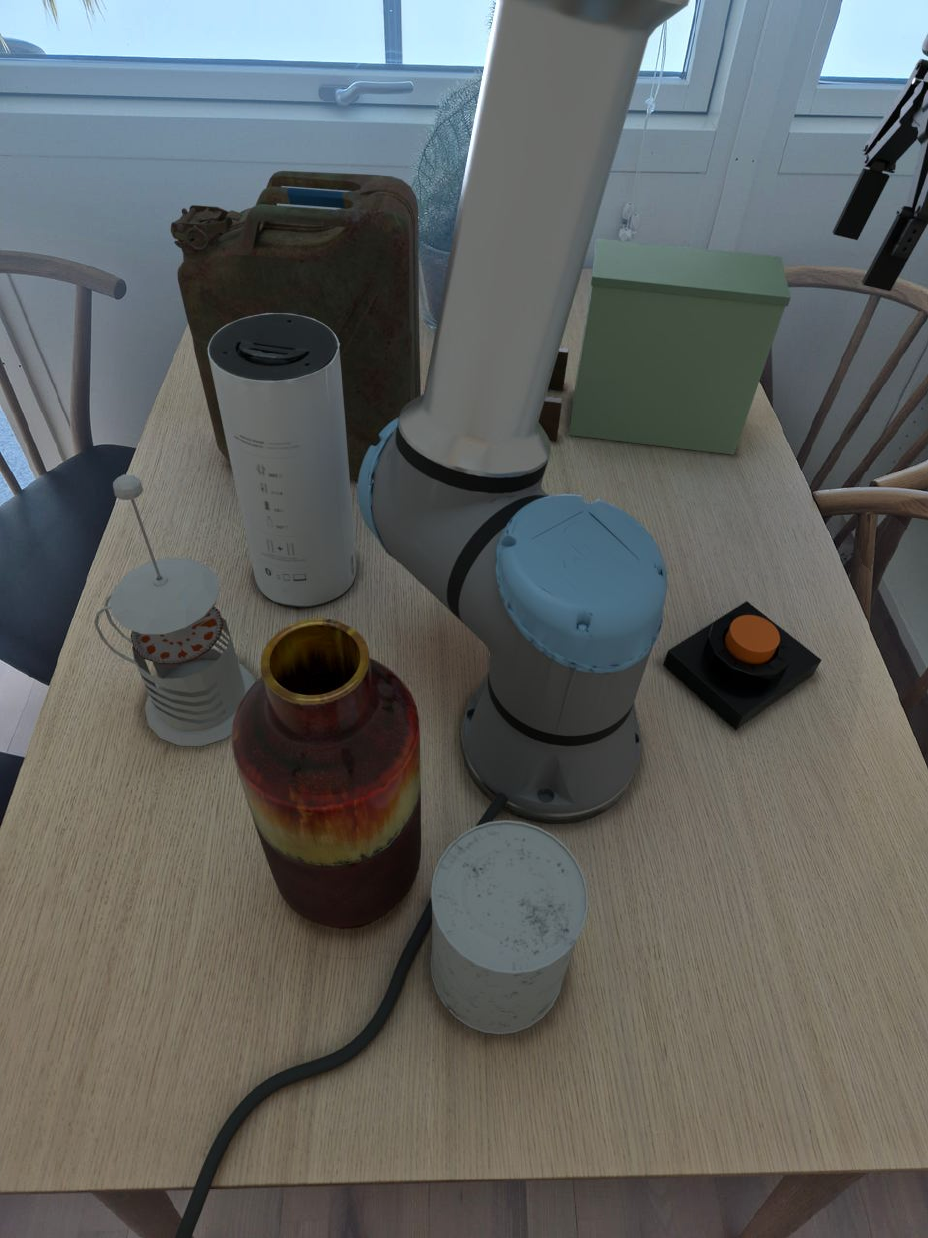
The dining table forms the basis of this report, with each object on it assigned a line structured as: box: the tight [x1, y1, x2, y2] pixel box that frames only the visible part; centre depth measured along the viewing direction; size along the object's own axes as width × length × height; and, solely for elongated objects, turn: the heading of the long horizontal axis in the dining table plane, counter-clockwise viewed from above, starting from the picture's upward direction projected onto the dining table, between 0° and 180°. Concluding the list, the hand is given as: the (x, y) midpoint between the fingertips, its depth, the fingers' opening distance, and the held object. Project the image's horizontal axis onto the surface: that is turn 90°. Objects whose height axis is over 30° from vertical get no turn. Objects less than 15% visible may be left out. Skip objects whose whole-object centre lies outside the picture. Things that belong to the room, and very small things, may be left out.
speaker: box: [208, 313, 357, 608], centre depth 74 cm, size 11×10×26 cm
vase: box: [230, 618, 422, 930], centre depth 53 cm, size 11×11×26 cm
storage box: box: [568, 237, 792, 456], centre depth 96 cm, size 20×9×20 cm, turn 81°
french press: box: [94, 473, 256, 747], centre depth 64 cm, size 10×12×25 cm
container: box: [170, 170, 422, 481], centre depth 86 cm, size 23×10×30 cm, turn 85°
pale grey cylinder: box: [430, 819, 589, 1036], centre depth 54 cm, size 10×10×12 cm
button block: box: [662, 600, 823, 731], centre depth 76 cm, size 11×9×4 cm
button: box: [725, 615, 780, 664], centre depth 74 cm, size 4×4×2 cm
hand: (859, 260), depth 85 cm, fingers open, 13 cm apart
